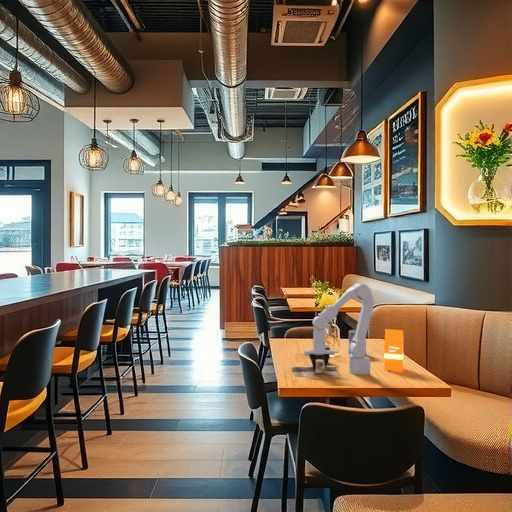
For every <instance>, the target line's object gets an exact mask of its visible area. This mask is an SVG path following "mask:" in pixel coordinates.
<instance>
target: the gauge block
mask: <svg viewBox="0 0 512 512" xmlns="http://www.w3.org/2000/svg"><path fill="white" fill-rule="evenodd" d="M315 366H316V371H315V372H316V373H325V362H324V361H323V360H316V363H315Z"/></svg>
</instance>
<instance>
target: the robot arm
mask: <svg viewBox="0 0 512 512" xmlns="http://www.w3.org/2000/svg"><path fill="white" fill-rule="evenodd" d="M353 299H358V300H359V301H360V302H361V310H360V312H359V316H358V321H357V325H356V328H355V330H356V333H355V336H354V337H353V339H352V342H351V343H350V344H349V343H348V352H349V351H350V352H351V353H350V355H349V369H348V370H349V374H353V375H371V360H370V357H369V356H366V355H367V342H366V341H367V339H366V340H365V338H367V334H368V329H369V326H370V321H371V318H372V314H373V309H374V305H375V301H374V297H373V295H372V290H371V288H370V287H369V286H368V285H367V284H364V283H360V282H356V283H354V284H353V285H352V286H350V287H349V288H347V290H346V291H345V292H344V294H342V295H341V296H340V297H339V298H338V300H337V301H335V303H333V304H329V305H326V306H325V307H324V309H323V310H322V311H321V312H320V313H319V312H318V313H317V315H318V316H315V317H314V318H313V319H312V322H311V323H312V326H313V333H312V335H313V336H312V337H313V338H312V341H313V342H312V344H313V345H312V346H313V347H312V348H313V349H308V350H307V349H306V350H304V351H303V355H304V356H308V357H309V358H310V361H311V364H312V366H313V370H314V371H316V366H315V363H316V357H315V355H323V361H324V362H325V368H326V366H327V365H328V364H327V362H328V363H329V360H330V359H331V357H330V356H331V355H332V356H335V350H333V349H330V350H325V345H326V328H327V326H328V324H329V323H330V322H331V321H332V320H333V319H334V318H335V317H336V316H337V315H338V314H339V310H340V309H341V308H342V307H343V306H345V304H347V303H348V302H349V301H350V300H353ZM365 354H366V355H365Z"/></svg>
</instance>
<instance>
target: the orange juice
mask: <svg viewBox="0 0 512 512" xmlns="http://www.w3.org/2000/svg"><path fill="white" fill-rule="evenodd" d="M384 333H385V334H384V355H383V356H384V363H383V364H384V366H383V367H384V368H383V369H384V371H387V370H391V371H390V372H398V371H399V373H401V372H402V373H403V370H404V330H401V329H389V328H388V329H386V328H385V330H384Z"/></svg>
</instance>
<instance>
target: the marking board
mask: <svg viewBox="0 0 512 512" xmlns="http://www.w3.org/2000/svg"><path fill="white" fill-rule="evenodd" d="M290 370H291V372H292V374H293V376H294V377H295V378H309V377H311V378H315V377H316V378H317V377H320V378H321V377H342V375H341V373H340V371H338V370H337V366H336V365H326V368H325V373H316V372H315V371H314V370H313V365H312V366H311V365H308V366H305V365H304V366H302V365H301V366H291V368H290Z"/></svg>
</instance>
